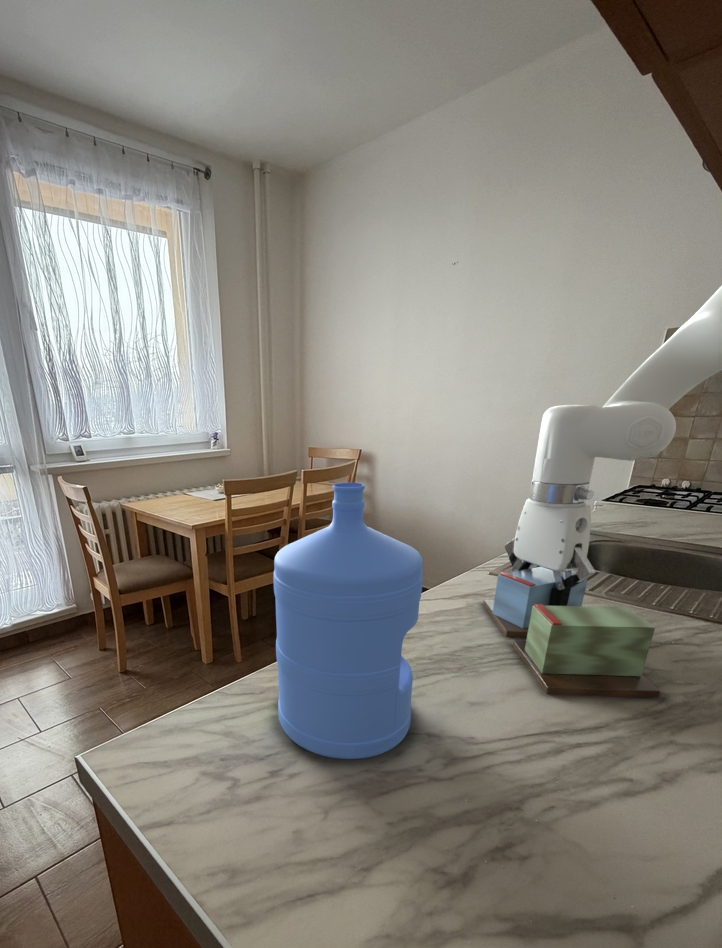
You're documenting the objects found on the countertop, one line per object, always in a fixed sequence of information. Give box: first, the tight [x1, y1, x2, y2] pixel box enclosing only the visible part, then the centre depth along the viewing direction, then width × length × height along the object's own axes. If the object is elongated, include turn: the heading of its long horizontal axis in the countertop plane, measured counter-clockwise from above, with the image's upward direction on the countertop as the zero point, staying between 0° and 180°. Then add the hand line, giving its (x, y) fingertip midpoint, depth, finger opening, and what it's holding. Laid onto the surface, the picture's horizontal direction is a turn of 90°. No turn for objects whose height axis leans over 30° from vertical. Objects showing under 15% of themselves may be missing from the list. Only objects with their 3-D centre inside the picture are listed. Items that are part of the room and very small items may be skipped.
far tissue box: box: [492, 566, 589, 628], centre depth 79 cm, size 12×6×7 cm, turn 110°
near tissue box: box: [525, 604, 656, 676], centre depth 64 cm, size 12×6×7 cm, turn 83°
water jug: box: [272, 482, 424, 760], centre depth 53 cm, size 16×16×28 cm
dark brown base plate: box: [482, 599, 529, 638], centre depth 81 cm, size 13×13×2 cm
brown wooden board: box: [512, 639, 661, 699], centre depth 66 cm, size 13×13×2 cm
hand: (537, 601), depth 79 cm, fingers closed on far tissue box, 6 cm apart
